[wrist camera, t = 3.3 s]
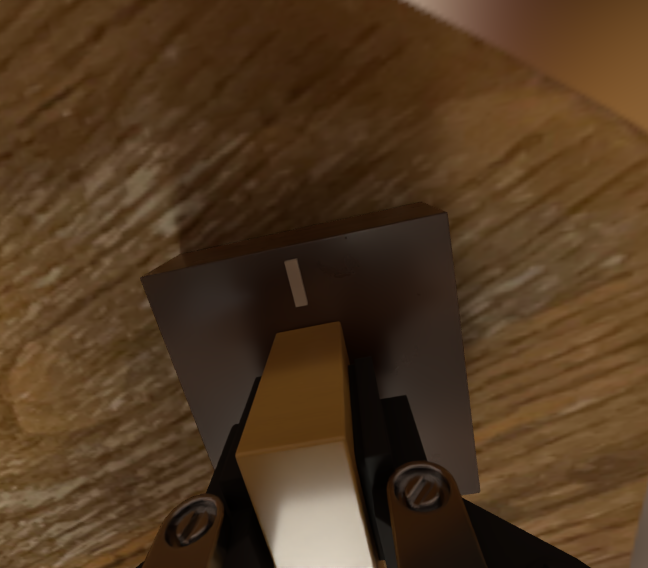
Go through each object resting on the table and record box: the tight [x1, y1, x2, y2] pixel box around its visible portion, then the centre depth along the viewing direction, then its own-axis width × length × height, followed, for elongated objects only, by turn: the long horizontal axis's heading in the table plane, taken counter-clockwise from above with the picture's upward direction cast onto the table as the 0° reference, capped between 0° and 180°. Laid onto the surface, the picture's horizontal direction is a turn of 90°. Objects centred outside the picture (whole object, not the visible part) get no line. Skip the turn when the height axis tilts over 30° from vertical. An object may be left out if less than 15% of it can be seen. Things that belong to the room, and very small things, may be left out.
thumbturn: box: [235, 321, 384, 568], centre depth 9 cm, size 5×2×5 cm, turn 12°
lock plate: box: [140, 202, 480, 495], centre depth 13 cm, size 10×9×3 cm
